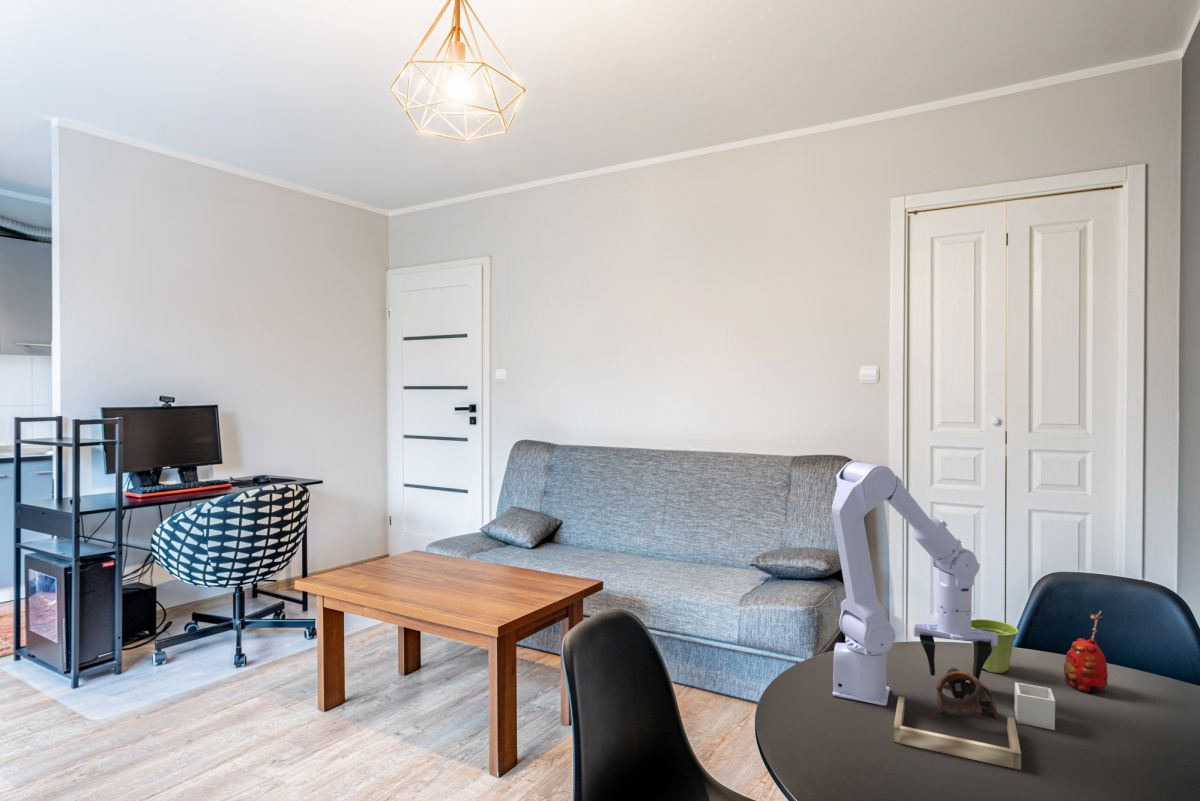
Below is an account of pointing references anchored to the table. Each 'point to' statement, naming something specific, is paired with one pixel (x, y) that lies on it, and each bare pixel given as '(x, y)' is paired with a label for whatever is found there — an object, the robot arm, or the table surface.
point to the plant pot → (1003, 650)
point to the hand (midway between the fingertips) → (953, 676)
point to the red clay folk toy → (1086, 664)
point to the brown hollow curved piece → (964, 694)
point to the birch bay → (959, 742)
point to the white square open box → (1034, 706)
